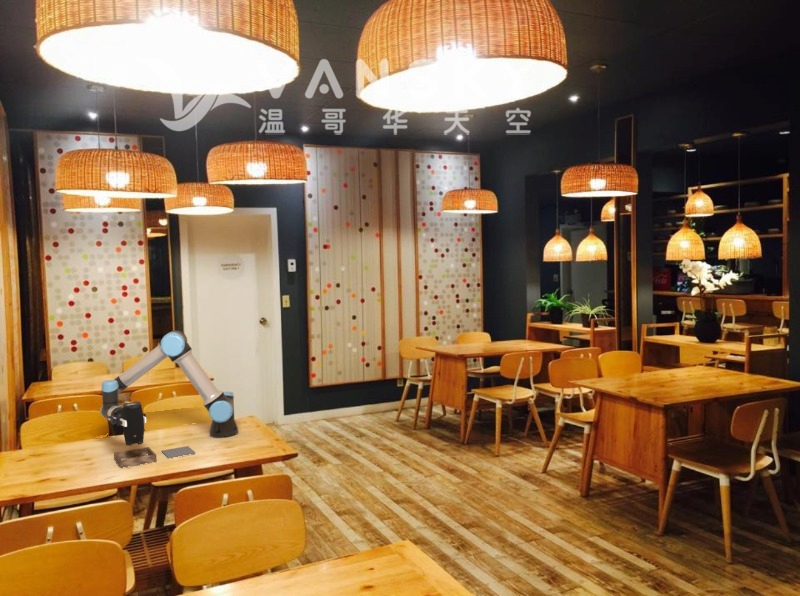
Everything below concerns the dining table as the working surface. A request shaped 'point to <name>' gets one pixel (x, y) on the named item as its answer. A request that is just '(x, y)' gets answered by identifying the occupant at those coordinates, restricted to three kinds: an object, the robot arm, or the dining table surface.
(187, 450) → the rubber mat
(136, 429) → the portable speaker
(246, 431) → the dining table surface
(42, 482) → the dining table surface
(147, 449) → the walnut collar
